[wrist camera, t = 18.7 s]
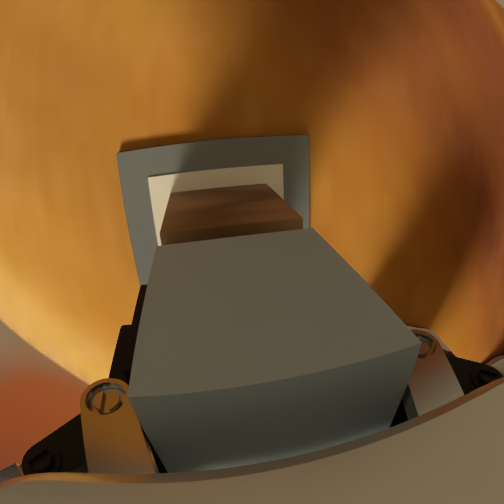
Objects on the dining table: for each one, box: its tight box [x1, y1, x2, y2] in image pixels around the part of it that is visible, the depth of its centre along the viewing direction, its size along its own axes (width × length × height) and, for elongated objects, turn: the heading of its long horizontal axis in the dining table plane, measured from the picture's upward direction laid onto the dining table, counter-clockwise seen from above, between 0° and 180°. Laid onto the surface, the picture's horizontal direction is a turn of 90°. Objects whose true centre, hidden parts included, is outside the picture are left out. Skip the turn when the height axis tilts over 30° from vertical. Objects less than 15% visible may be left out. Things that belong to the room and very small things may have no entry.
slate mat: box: [117, 135, 309, 285], centre depth 18 cm, size 10×10×1 cm
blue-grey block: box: [127, 228, 422, 473], centre depth 8 cm, size 5×5×6 cm
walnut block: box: [160, 184, 303, 245], centre depth 15 cm, size 5×5×6 cm
